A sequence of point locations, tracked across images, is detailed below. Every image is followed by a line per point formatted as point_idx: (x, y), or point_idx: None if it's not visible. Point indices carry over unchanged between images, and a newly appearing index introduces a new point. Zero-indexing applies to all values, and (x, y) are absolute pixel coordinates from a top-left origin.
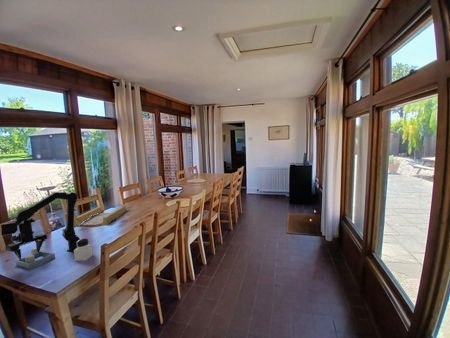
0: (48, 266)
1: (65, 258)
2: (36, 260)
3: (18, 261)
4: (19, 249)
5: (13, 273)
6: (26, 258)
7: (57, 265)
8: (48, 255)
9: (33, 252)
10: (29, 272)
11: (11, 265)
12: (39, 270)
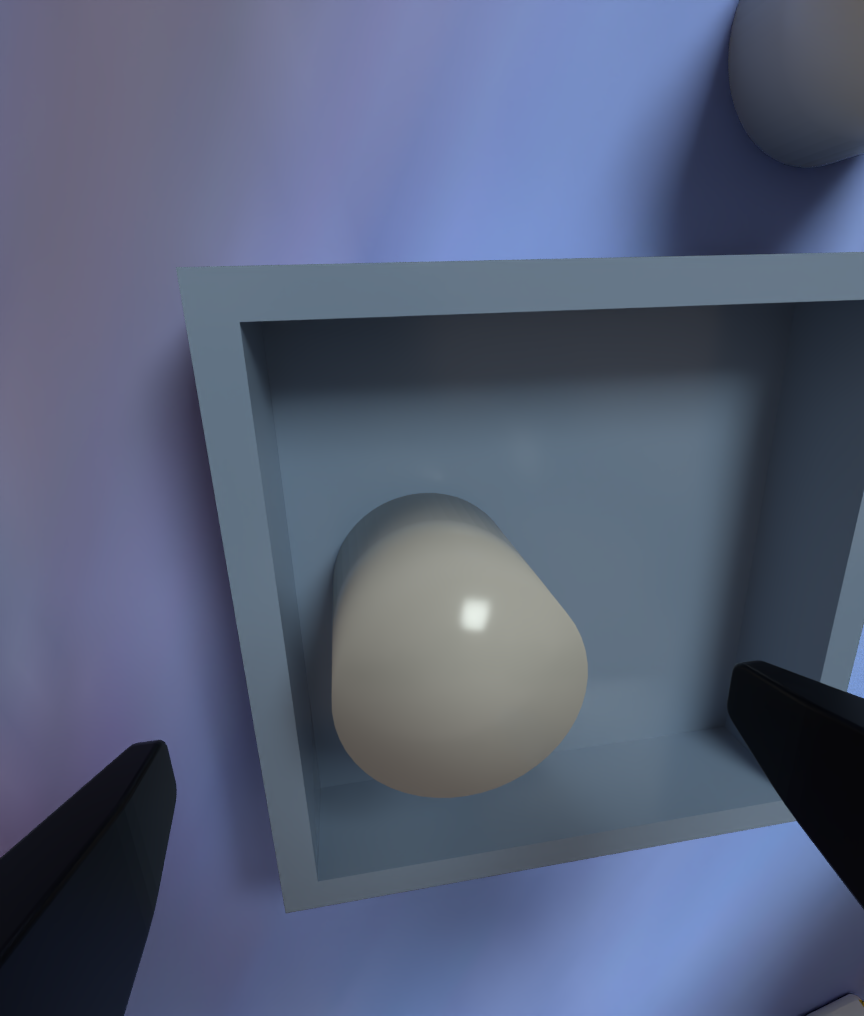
0: (486, 946)
1: (752, 893)
2: (570, 526)
3: (217, 444)
4: None
5: (32, 704)
6: (346, 748)
7: (550, 1012)
8: (775, 629)
9: (850, 54)
10: (233, 913)
11: (149, 79)
12: (349, 968)
